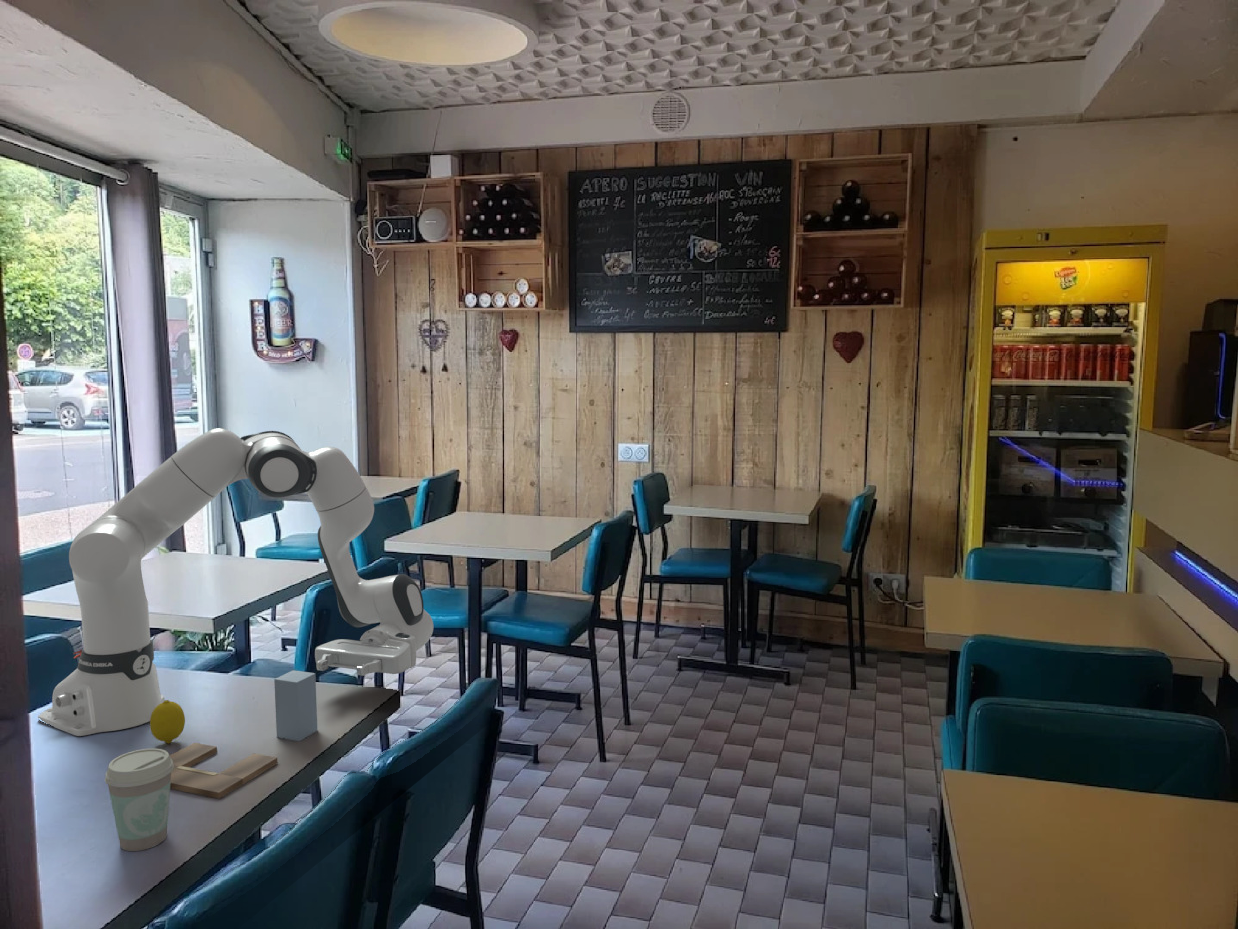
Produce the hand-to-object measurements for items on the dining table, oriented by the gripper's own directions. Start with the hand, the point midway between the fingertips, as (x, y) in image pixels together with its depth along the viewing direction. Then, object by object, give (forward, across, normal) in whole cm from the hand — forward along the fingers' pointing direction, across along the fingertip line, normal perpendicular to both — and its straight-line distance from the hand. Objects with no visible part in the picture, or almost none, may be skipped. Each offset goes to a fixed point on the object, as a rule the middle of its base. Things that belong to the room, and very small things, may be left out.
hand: (339, 669), depth 169 cm
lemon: (+23, -19, +8) cm, 31 cm away
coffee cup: (+49, +4, +8) cm, 50 cm away
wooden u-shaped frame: (+30, -4, +8) cm, 31 cm away
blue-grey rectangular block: (+12, 0, +8) cm, 15 cm away
